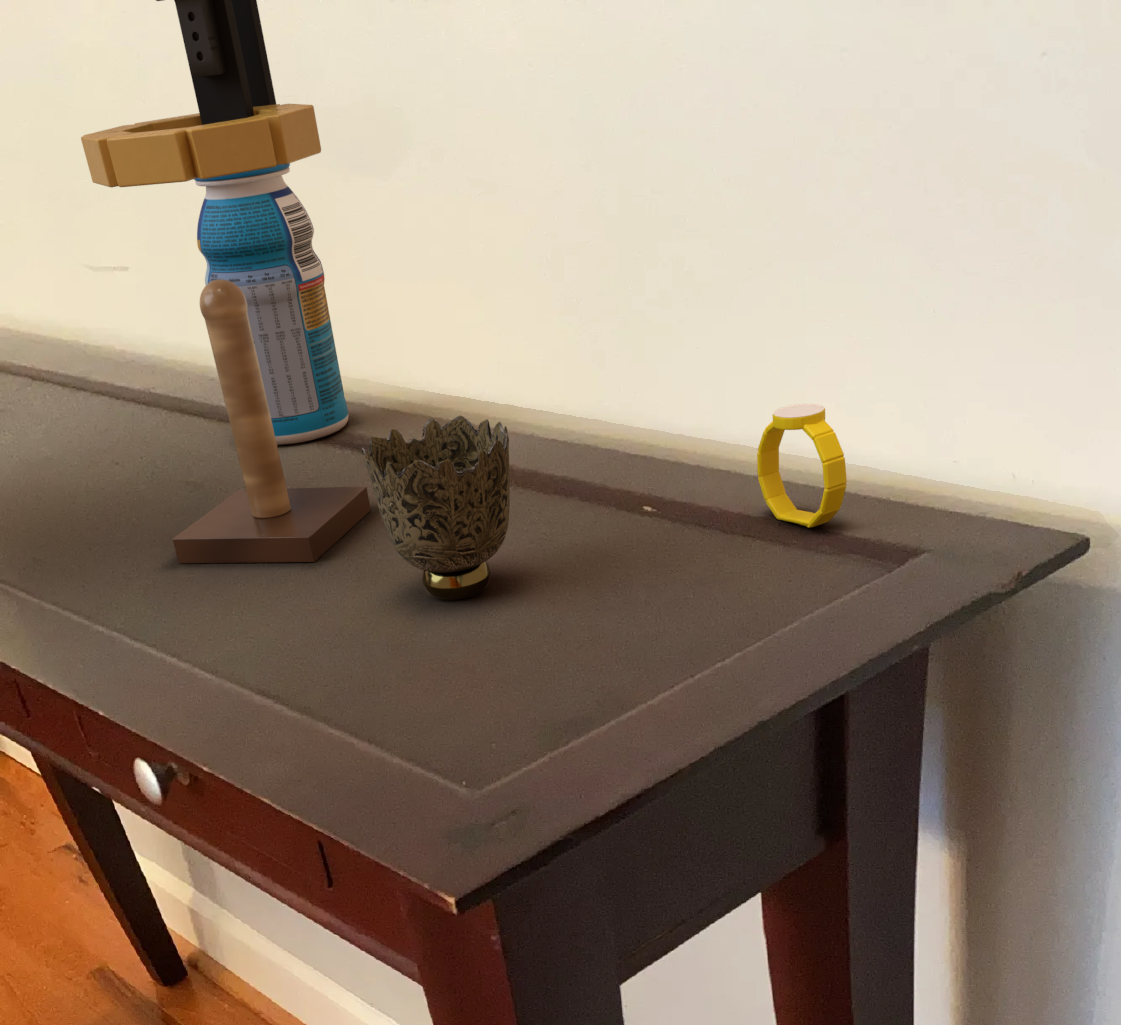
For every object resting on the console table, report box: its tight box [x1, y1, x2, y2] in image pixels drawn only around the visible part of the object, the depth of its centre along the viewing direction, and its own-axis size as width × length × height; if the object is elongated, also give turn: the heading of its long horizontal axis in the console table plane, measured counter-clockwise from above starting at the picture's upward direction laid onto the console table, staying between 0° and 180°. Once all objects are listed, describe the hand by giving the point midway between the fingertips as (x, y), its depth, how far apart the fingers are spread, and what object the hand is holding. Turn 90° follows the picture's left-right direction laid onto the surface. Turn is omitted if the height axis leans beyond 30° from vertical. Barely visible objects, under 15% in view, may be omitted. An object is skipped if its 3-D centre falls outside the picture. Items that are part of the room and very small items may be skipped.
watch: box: [756, 403, 848, 528], centre depth 74 cm, size 6×3×6 cm, turn 32°
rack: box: [172, 279, 372, 564], centre depth 80 cm, size 9×9×14 cm
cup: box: [361, 415, 511, 601], centre depth 71 cm, size 8×7×8 cm
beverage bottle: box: [193, 163, 350, 446], centre depth 98 cm, size 8×8×20 cm
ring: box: [80, 103, 322, 188], centre depth 68 cm, size 11×11×2 cm
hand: (246, 146), depth 72 cm, fingers closed on ring, 2 cm apart
